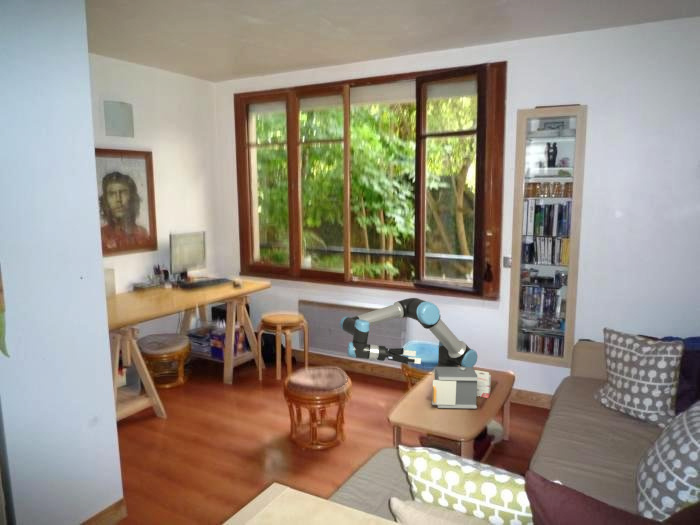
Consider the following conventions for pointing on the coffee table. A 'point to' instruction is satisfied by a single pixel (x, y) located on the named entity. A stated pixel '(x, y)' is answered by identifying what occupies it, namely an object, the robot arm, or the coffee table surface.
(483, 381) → the ink cartridge box
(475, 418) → the coffee table surface
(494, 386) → the coffee table surface
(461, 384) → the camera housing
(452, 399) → the white boxy piece
